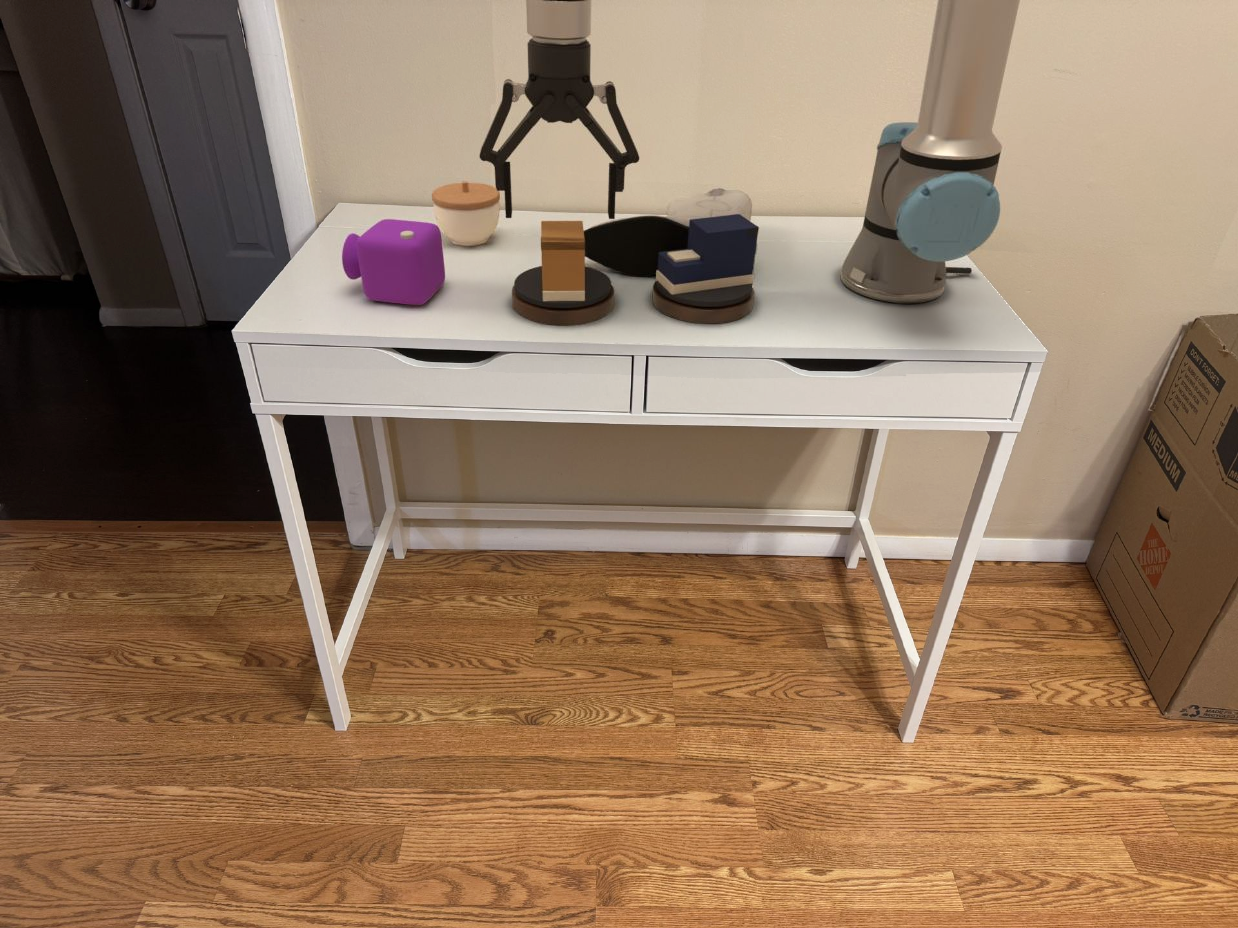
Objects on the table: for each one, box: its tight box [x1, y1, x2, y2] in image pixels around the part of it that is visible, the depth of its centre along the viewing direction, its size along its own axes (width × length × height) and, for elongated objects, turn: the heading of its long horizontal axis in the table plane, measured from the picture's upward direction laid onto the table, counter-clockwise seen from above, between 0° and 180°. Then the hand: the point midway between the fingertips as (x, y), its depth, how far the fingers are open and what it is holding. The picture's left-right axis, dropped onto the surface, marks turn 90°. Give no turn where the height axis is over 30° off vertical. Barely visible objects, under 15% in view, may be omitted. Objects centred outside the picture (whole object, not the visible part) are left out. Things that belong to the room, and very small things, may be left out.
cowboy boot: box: [583, 187, 758, 278], centre depth 134 cm, size 10×28×25 cm
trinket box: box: [431, 180, 501, 247], centre depth 135 cm, size 11×11×9 cm
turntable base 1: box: [511, 283, 615, 326], centre depth 118 cm, size 14×14×2 cm
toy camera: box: [341, 218, 446, 306], centre depth 117 cm, size 11×14×10 cm
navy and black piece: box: [655, 214, 760, 307], centre depth 116 cm, size 14×14×9 cm
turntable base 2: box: [652, 280, 755, 325], centre depth 119 cm, size 14×14×2 cm
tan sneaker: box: [513, 220, 612, 308], centre depth 114 cm, size 14×14×9 cm
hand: (560, 215), depth 111 cm, fingers open, 13 cm apart
